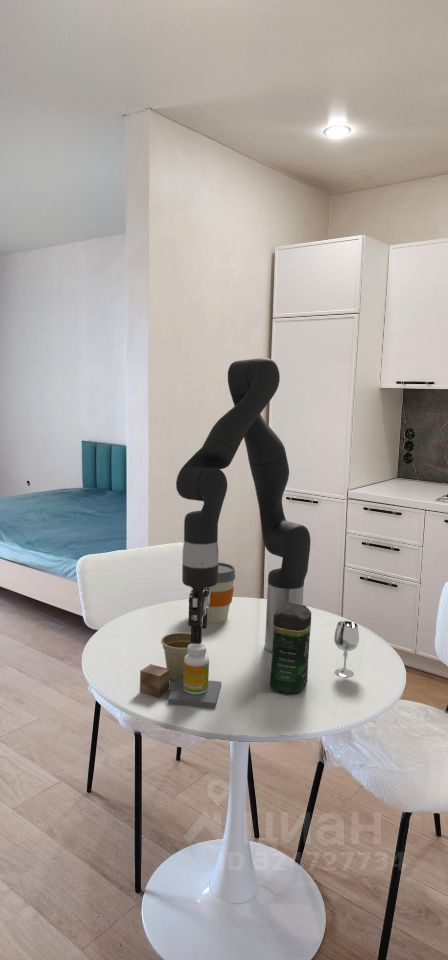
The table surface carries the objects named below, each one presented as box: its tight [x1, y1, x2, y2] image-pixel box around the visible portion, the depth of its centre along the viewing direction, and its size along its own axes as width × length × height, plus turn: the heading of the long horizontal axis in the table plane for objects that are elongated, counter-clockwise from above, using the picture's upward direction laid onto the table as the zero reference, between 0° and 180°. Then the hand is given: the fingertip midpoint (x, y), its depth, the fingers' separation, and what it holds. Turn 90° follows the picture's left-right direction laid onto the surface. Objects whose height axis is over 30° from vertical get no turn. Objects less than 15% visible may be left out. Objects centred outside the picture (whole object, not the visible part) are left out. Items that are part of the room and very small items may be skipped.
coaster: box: [167, 678, 222, 709], centre depth 137 cm, size 10×10×1 cm
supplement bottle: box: [183, 643, 210, 694], centre depth 136 cm, size 5×5×10 cm
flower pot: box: [160, 632, 203, 682], centre depth 146 cm, size 9×9×9 cm
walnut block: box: [139, 663, 171, 699], centre depth 138 cm, size 5×4×5 cm
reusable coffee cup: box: [206, 561, 236, 624], centre depth 185 cm, size 13×13×15 cm
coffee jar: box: [269, 603, 312, 696], centre depth 141 cm, size 10×8×19 cm
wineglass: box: [333, 620, 360, 678], centre depth 150 cm, size 6×6×12 cm
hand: (199, 635), depth 135 cm, fingers open, 8 cm apart
